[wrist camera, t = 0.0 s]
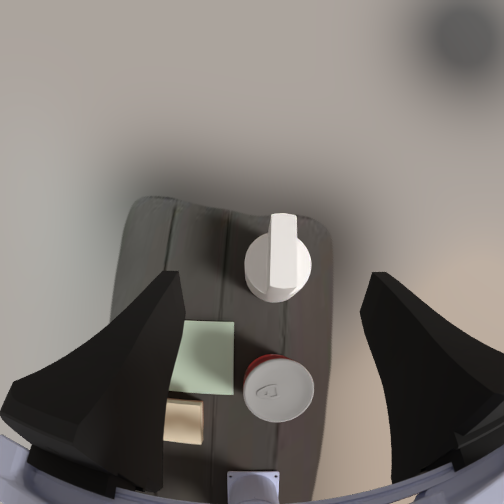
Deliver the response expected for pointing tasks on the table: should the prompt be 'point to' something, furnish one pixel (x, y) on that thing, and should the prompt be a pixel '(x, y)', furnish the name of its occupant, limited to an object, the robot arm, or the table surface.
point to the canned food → (277, 388)
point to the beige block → (183, 422)
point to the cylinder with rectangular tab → (277, 261)
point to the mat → (205, 359)
